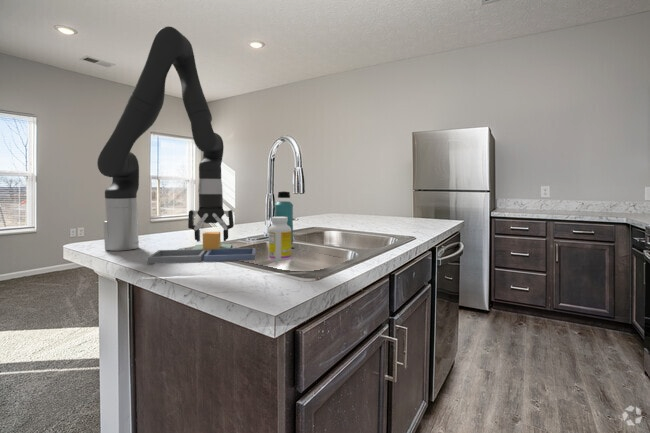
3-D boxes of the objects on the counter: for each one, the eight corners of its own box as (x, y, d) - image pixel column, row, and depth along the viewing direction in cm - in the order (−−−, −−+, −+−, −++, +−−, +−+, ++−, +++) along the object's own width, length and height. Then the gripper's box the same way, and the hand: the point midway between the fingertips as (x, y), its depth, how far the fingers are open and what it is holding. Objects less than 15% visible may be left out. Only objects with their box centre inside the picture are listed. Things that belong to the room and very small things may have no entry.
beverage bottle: (283, 246, 124) (282, 191, 122) (297, 249, 121) (297, 191, 119) (270, 249, 119) (269, 191, 117) (284, 252, 115) (284, 191, 113)
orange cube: (202, 249, 114) (202, 234, 113) (205, 246, 119) (205, 231, 118) (218, 248, 115) (218, 233, 114) (220, 246, 120) (220, 231, 119)
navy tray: (204, 263, 99) (203, 256, 99) (209, 255, 109) (209, 248, 109) (254, 261, 101) (254, 254, 101) (255, 254, 112) (255, 247, 111)
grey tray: (147, 264, 96) (147, 257, 96) (158, 256, 107) (158, 250, 106) (200, 263, 99) (200, 256, 99) (206, 255, 109) (206, 249, 109)
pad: (189, 254, 110) (189, 251, 110) (196, 247, 122) (196, 244, 121) (228, 253, 112) (228, 250, 112) (231, 246, 124) (231, 244, 124)
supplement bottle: (293, 257, 107) (293, 216, 106) (288, 262, 100) (288, 218, 99) (271, 257, 107) (271, 215, 106) (266, 262, 101) (265, 218, 100)
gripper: (233, 192, 120) (234, 238, 121) (190, 192, 117) (191, 239, 119) (231, 193, 112) (232, 242, 114) (185, 192, 110) (186, 243, 112)
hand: (211, 241), depth 116 cm, fingers open, 8 cm apart
